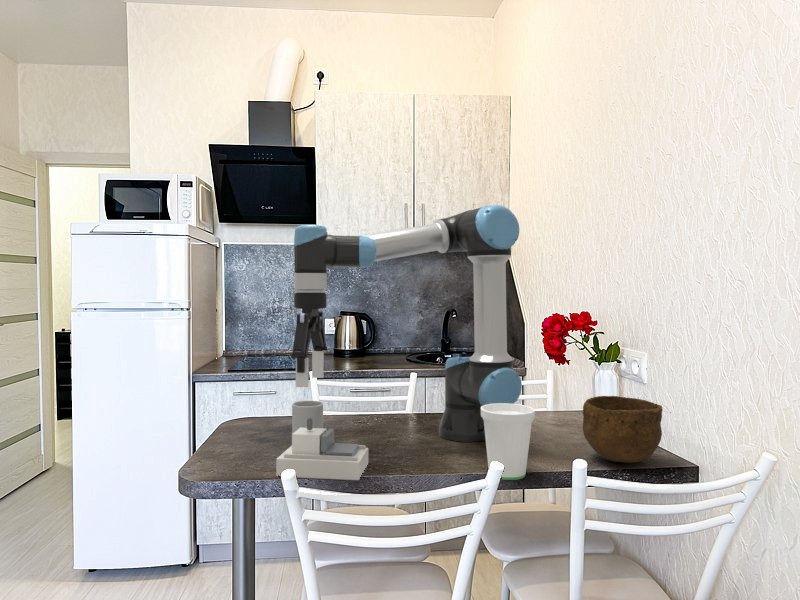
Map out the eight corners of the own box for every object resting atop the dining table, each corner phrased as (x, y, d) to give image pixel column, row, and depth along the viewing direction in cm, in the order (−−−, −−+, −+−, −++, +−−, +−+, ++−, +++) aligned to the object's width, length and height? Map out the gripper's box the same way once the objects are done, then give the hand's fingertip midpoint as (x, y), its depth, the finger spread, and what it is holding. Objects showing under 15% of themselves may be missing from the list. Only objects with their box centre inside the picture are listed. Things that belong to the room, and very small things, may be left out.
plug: (326, 465, 140) (326, 415, 139) (319, 474, 133) (319, 421, 133) (300, 464, 140) (300, 414, 140) (291, 473, 134) (292, 420, 134)
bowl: (673, 476, 134) (674, 411, 133) (588, 471, 137) (589, 408, 136) (651, 453, 152) (652, 396, 152) (577, 449, 155) (577, 393, 155)
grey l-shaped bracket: (358, 449, 139) (358, 429, 139) (352, 458, 132) (352, 437, 132) (329, 447, 140) (329, 428, 140) (321, 457, 132) (321, 436, 132)
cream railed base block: (368, 464, 141) (368, 444, 141) (358, 480, 129) (358, 458, 129) (292, 460, 144) (292, 441, 143) (276, 476, 132) (276, 455, 131)
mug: (320, 447, 155) (320, 406, 155) (288, 447, 156) (288, 406, 155) (327, 436, 167) (327, 398, 167) (298, 435, 168) (298, 397, 167)
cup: (516, 487, 125) (517, 416, 125) (469, 474, 134) (469, 408, 133) (544, 473, 135) (545, 408, 134) (498, 462, 143) (498, 400, 143)
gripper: (309, 291, 149) (309, 373, 149) (277, 292, 124) (277, 391, 125) (338, 291, 148) (338, 374, 148) (311, 292, 123) (311, 391, 124)
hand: (310, 382), depth 136 cm, fingers open, 13 cm apart
